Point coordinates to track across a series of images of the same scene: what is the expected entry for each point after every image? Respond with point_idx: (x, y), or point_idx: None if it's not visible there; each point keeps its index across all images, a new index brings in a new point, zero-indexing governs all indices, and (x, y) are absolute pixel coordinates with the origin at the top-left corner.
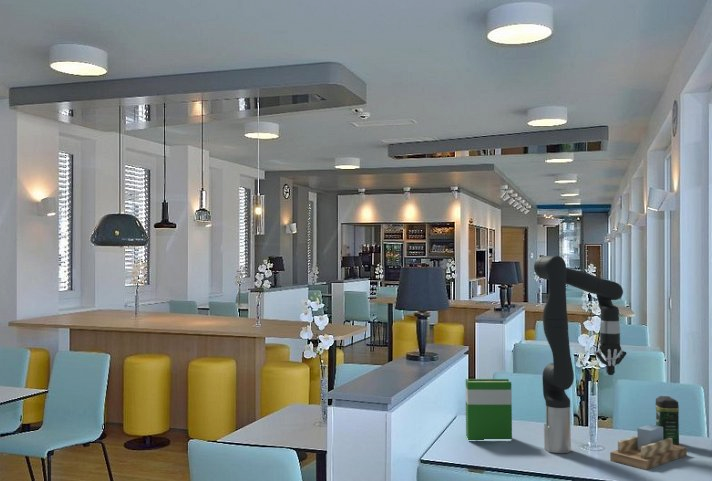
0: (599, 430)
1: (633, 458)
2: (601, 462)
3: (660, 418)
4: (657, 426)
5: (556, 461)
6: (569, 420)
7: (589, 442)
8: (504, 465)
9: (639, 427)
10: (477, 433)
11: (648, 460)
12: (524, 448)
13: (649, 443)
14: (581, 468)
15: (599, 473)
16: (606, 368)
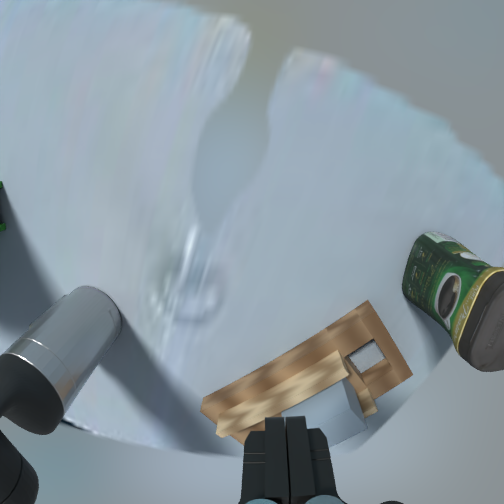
0: (284, 77)
1: (240, 441)
2: (179, 404)
3: (440, 321)
4: (354, 426)
5: (90, 384)
6: (81, 388)
7: (192, 240)
8: None
9: None
10: None
11: None
12: (28, 289)
13: None
14: (134, 423)
15: (163, 445)
16: (243, 474)
